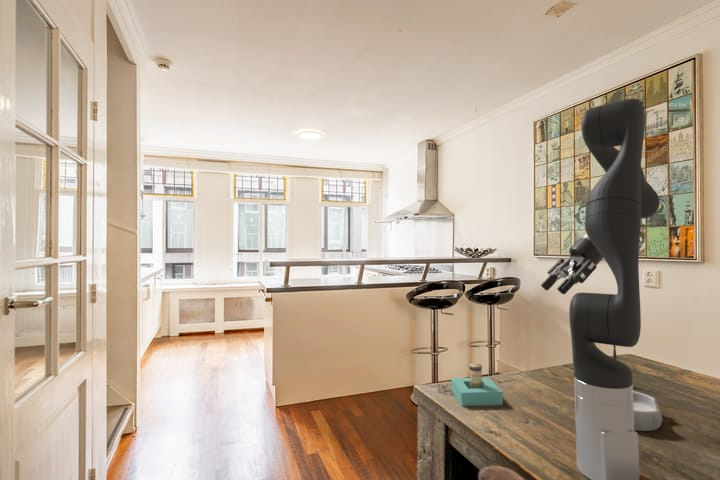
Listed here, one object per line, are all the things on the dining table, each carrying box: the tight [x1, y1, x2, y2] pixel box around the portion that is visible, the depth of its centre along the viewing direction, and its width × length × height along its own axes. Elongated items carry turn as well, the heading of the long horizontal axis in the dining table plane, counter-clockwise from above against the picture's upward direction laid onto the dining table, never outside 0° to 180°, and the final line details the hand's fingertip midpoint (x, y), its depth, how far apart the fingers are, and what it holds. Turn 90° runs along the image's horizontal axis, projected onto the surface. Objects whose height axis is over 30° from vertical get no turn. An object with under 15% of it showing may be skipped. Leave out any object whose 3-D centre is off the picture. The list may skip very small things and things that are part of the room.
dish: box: [633, 390, 663, 432], centre depth 91 cm, size 14×14×5 cm
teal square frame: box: [450, 376, 504, 407], centre depth 106 cm, size 11×11×4 cm
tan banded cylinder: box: [468, 362, 483, 389], centre depth 106 cm, size 3×3×9 cm
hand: (551, 290), depth 101 cm, fingers open, 8 cm apart
